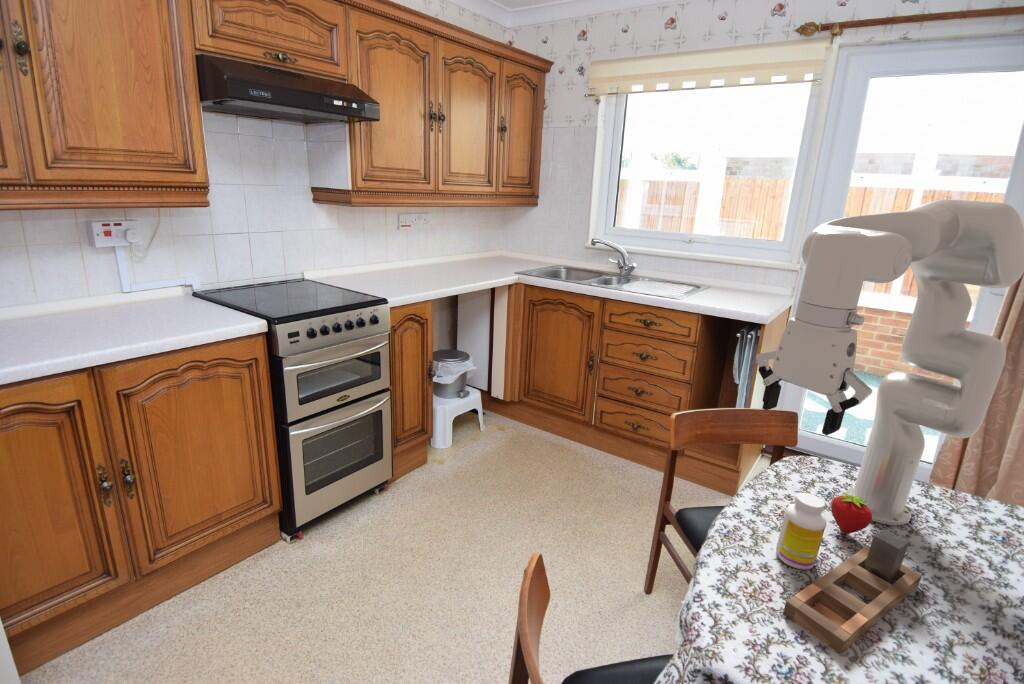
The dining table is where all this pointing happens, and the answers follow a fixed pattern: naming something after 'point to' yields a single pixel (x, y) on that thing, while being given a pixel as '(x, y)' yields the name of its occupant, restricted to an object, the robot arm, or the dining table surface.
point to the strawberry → (850, 513)
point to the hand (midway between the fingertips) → (797, 420)
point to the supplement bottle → (802, 531)
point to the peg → (886, 555)
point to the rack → (848, 601)
